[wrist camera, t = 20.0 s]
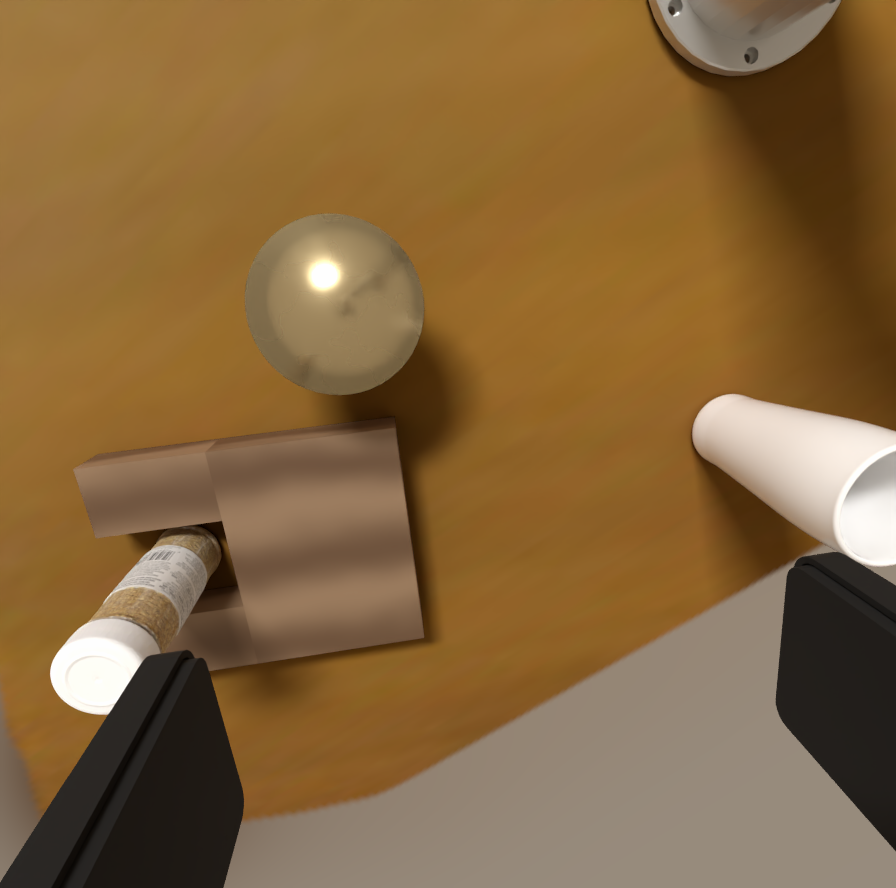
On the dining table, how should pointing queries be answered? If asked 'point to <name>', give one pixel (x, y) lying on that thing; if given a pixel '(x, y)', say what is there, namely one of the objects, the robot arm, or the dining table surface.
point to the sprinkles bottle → (135, 619)
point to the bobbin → (334, 304)
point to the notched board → (278, 536)
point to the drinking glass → (809, 470)
